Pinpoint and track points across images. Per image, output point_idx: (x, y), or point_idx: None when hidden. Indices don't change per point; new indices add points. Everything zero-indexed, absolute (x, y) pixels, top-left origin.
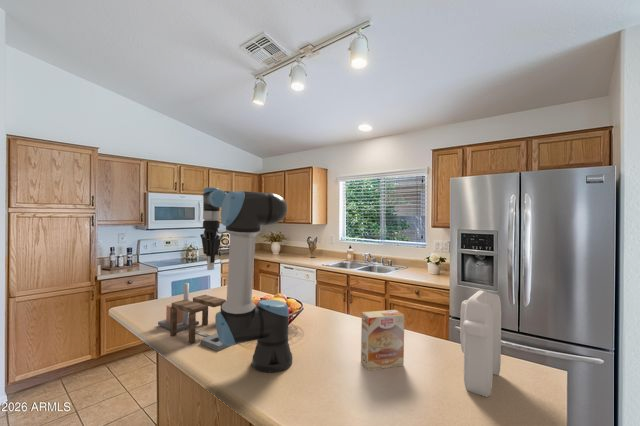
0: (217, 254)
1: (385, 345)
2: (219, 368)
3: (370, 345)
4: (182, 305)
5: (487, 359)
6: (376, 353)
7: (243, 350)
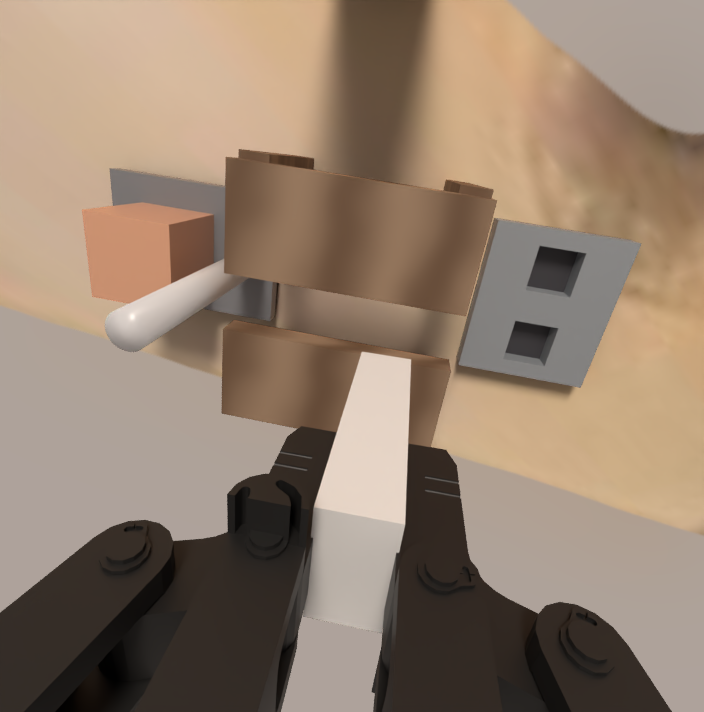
0: (593, 624)
1: None
2: (654, 472)
3: None
4: (319, 426)
5: None
6: None
7: (681, 337)
